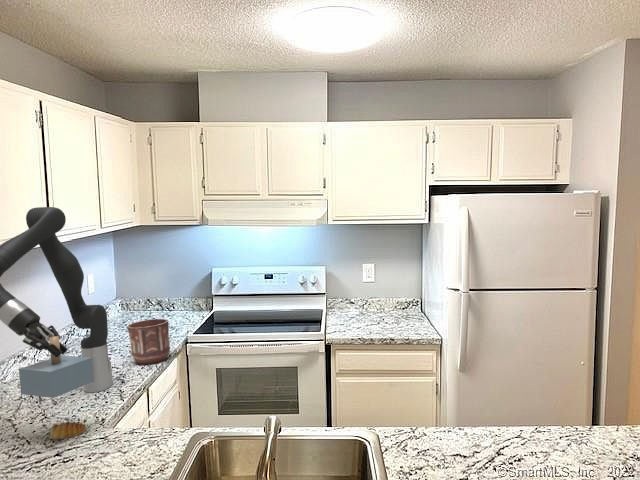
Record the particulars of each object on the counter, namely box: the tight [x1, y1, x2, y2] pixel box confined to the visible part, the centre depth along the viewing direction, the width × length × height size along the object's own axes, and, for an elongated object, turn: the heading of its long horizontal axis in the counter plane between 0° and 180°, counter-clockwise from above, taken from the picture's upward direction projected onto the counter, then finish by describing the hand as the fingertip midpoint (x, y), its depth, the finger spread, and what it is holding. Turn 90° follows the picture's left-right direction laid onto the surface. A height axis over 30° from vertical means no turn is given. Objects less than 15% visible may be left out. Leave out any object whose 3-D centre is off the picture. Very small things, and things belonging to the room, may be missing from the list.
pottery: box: [126, 318, 171, 365], centre depth 217 cm, size 18×18×18 cm
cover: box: [18, 336, 94, 399], centre depth 142 cm, size 14×14×16 cm
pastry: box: [49, 421, 87, 441], centre depth 143 cm, size 9×7×4 cm
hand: (62, 353), depth 142 cm, fingers closed on cover, 2 cm apart
